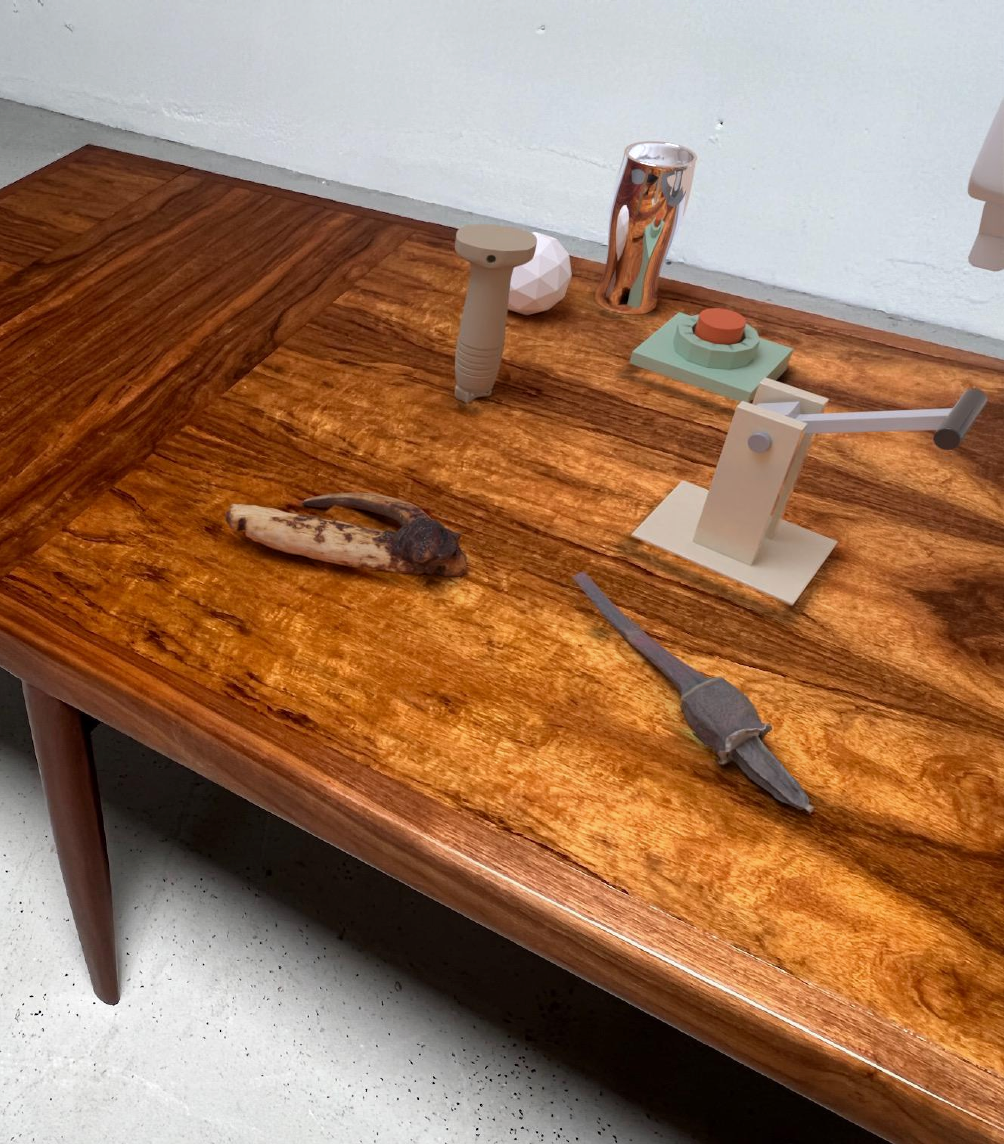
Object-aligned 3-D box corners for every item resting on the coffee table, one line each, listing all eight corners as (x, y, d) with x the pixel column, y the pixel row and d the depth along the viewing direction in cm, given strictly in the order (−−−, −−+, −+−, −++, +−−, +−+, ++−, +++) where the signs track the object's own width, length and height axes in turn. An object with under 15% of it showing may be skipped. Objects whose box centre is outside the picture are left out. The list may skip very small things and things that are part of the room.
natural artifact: (778, 839, 65) (763, 817, 62) (571, 586, 81) (551, 559, 78) (836, 801, 64) (823, 777, 62) (615, 554, 80) (597, 526, 77)
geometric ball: (532, 342, 113) (551, 307, 105) (468, 297, 114) (481, 259, 106) (576, 287, 114) (597, 248, 106) (511, 243, 115) (528, 202, 108)
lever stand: (832, 553, 83) (898, 405, 75) (788, 616, 78) (852, 465, 70) (678, 491, 89) (723, 348, 81) (627, 545, 84) (669, 398, 76)
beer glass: (658, 321, 110) (698, 171, 101) (586, 311, 112) (619, 162, 102) (662, 291, 115) (700, 144, 106) (593, 281, 117) (624, 136, 107)
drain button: (747, 334, 101) (753, 317, 100) (730, 351, 99) (735, 333, 98) (705, 321, 103) (710, 303, 102) (686, 337, 101) (691, 319, 100)
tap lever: (989, 415, 70) (986, 380, 69) (962, 457, 67) (958, 420, 66) (773, 423, 80) (768, 392, 79) (739, 460, 76) (734, 428, 75)
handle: (505, 417, 97) (533, 254, 88) (432, 406, 99) (451, 244, 89) (511, 389, 101) (539, 229, 91) (440, 379, 102) (461, 220, 93)
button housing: (786, 369, 103) (800, 330, 101) (744, 414, 98) (757, 374, 95) (673, 332, 109) (683, 294, 106) (626, 372, 103) (636, 333, 100)
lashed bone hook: (475, 534, 86) (249, 490, 89) (485, 483, 83) (252, 440, 86) (458, 609, 79) (214, 558, 82) (469, 557, 76) (215, 506, 79)
